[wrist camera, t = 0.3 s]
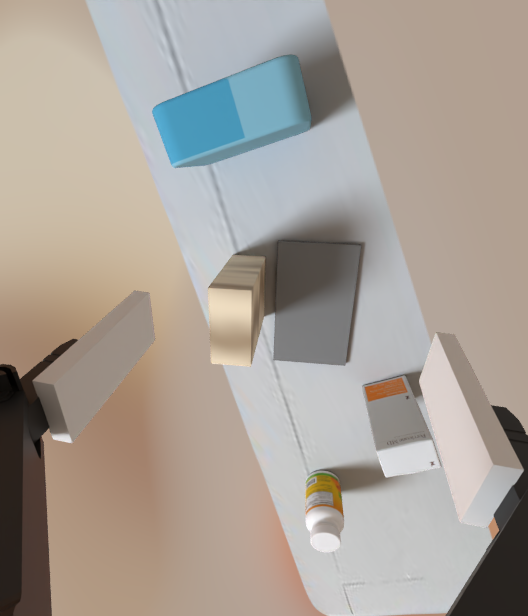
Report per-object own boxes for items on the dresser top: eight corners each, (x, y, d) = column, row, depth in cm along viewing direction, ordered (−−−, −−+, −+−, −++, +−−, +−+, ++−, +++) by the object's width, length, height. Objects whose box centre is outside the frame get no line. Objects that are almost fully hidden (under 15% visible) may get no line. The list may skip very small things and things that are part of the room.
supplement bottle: (339, 495, 57) (345, 557, 48) (305, 493, 58) (305, 554, 49) (340, 470, 55) (347, 530, 46) (305, 468, 55) (305, 527, 47)
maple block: (231, 254, 43) (206, 287, 32) (265, 256, 43) (251, 290, 32) (232, 314, 46) (210, 363, 35) (264, 316, 46) (250, 366, 35)
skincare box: (404, 373, 47) (434, 438, 36) (412, 398, 48) (443, 469, 37) (359, 384, 48) (375, 451, 38) (368, 409, 50) (386, 480, 39)
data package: (299, 82, 36) (296, 48, 25) (310, 130, 37) (312, 118, 26) (190, 122, 38) (144, 108, 27) (205, 165, 40) (166, 169, 29)
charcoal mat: (278, 240, 42) (278, 241, 41) (360, 244, 41) (361, 245, 41) (273, 357, 48) (273, 360, 48) (344, 363, 47) (345, 365, 47)
